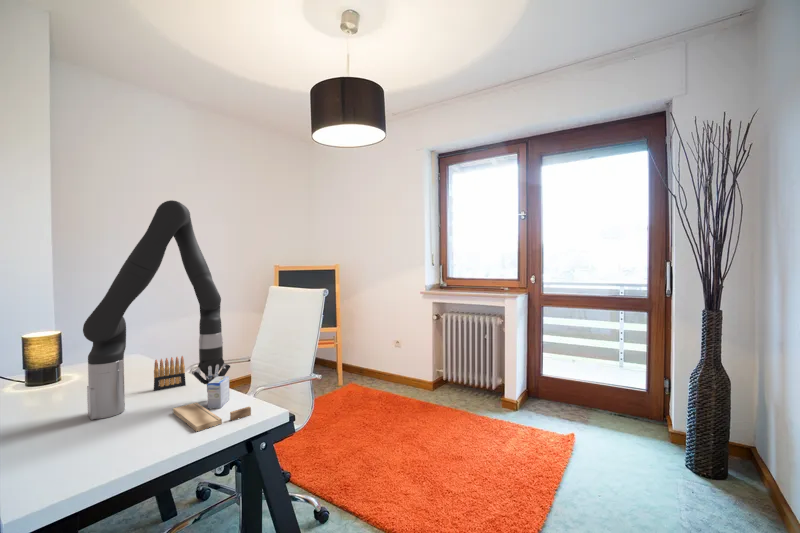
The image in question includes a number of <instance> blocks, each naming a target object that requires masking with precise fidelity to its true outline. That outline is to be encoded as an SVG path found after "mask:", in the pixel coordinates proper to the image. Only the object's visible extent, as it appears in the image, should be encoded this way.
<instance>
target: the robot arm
mask: <svg viewBox="0 0 800 533" xmlns="http://www.w3.org/2000/svg"><path fill="white" fill-rule="evenodd" d="M189 210H190V209H189V208H188V207H187V206H186V205H185V204H184V203H181V202H180V201H177V200H173V199H172V200H166V201H164V202H162V203H161V204H159V206H158V207H157V208H156V210H155V213H154V215H153V216H152V219H151V221H150V223H149V225H148V227H147V229H146V231H145V233H144V234H143V236H142V237H141V238H140V240H139V241H138V243H137V244H136V245H135V247H134V248H133V249H132V251H131V252H130V254H129V255H128V257H127V258H126V260H125V261H124V263H123V264H122V265H121V268H120V270H119V272H118V273H117V274H116V276H115V278H114V280H113V281H112V283H111V285H110V286H109V288H108V289H107V291H106V293H105V295H104V296H103V298H102V300H101V301H100V302H99V304H98V305H97V306H96V307H95V309H94V310H92V312H91V313H90V314H89V316H88V317H87V319H86V320H85V322H84V323H83V327H82V334H83V336H84V337H85V339H86V340H88V341H90V342H91V343H92V347H91V350H90V352H89V354H88V356H87V372H88V373H87V378H88V379H87V381H88V384H87V387H86V389H87V391H86V392H87V393H86V394H87V395H86V396H87V399H86V400H87V402H86V403H87V416H88V418H89V420H92V421H93V420H97V419H106V418H111V417H115V416H117V415H120V414H121V413H123V412H125V411H126V409H125V408H126V402H125V400H126V398H125V397H126V396H125V395H126V394H125V362H124V361H125V360H124V359H125V357H124V356H125V351H126V347H127V323H126V319H125V317H124V314H125V313H126V311H127V310H128V309H129V307H130V306H131V304H132V303H133V302H134V301H135V300H136V299H137V298H138V297H139V296H140V295H141V294H142V293H143V291H145V290H146V288H147V287H148V286H149V285H150V283H151V282H152V280H153V278H154V277H155V275H156V274H157V272H158V270H159V269H160V267H161V264H162V262H163V259H164V257H165V254H166V250H167V247H168V246H169V245H170V244H169V243H170V242H171V240H172V239H173V238H174V239H175V242H176V244H177V247H178V251H179V254H180V258H181V262H182V264H183V267H184V270H185V272H186V275H187V277H188V279H189V282H190V284H191V285H192V287H193V290H194V294H195V296H196V297H195V298H197V302H198V305H199V316H200V318H199V326H198V327H199V338H198V354H199V355H198V356H199V357H198V360H199V361H198V364H197V368H196V369H195V370H192V371H191V374H192V376H194V377H195V378H196V379H197V380H198V382H200V383H201V384H204V385H207V384H208V383H209V382H210V381H212V380H213V379H214V378H216V377H218V376H226V374H227V373H228V372H229V370H230V368H231V365H230V364H227V363H226V362H225V359H224V354H223V353H224V350H223V347H224V346H223V345H224V344H223V343H224V342H223V334H222V319H221V301H222V298H221V294H220V292H219V291H218V289H217V286H216V284H215V282H214V280H213V277H212V274H211V272H210V268H209V266H208V263H207V261H206V259H205V257H204V255H203V252H202V251H201V250H202V249H201V248H200V246H199V244H198V241H197V238H196V234H195V230H194V227H193V223H192V218H191V212H190V211H189ZM201 372H202V374H204V377H205V378H204V377H203V376H202V375H201Z"/></svg>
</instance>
